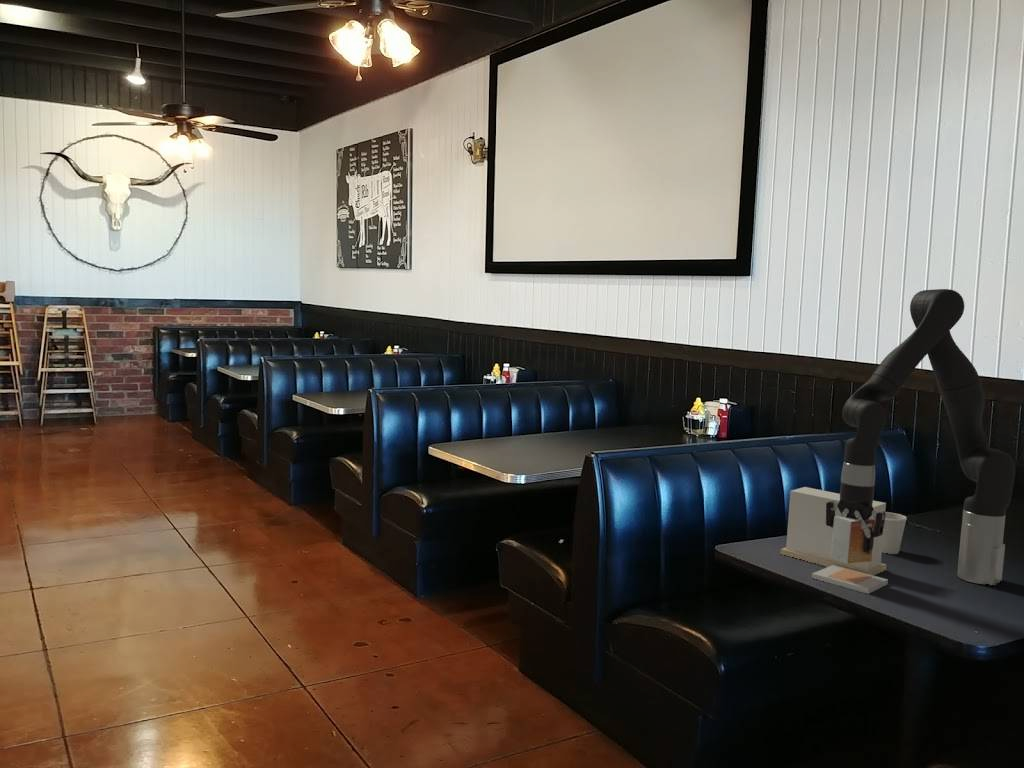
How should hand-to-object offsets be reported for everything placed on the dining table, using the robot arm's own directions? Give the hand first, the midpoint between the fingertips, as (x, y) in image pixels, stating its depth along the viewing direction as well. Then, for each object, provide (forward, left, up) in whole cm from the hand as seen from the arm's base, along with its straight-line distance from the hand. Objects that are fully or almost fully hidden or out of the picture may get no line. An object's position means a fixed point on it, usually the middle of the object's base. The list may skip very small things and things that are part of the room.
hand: (852, 548), depth 209 cm
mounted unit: (+10, -12, -8) cm, 17 cm away
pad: (0, 0, -8) cm, 8 cm away
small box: (0, 0, -3) cm, 3 cm away
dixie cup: (+5, -35, -8) cm, 36 cm away
